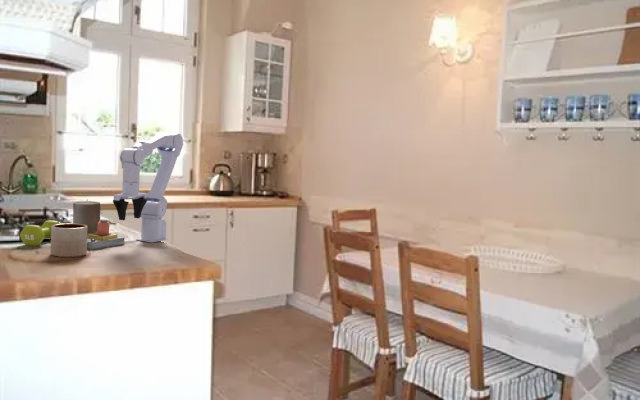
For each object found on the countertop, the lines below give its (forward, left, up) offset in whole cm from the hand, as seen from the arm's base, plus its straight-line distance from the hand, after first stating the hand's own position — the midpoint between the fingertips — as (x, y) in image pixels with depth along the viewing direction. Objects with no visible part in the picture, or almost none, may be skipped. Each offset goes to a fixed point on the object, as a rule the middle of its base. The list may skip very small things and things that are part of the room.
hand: (129, 219), depth 200 cm
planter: (+24, -3, -10) cm, 26 cm away
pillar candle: (-1, -22, -10) cm, 24 cm away
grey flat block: (+7, -9, -10) cm, 15 cm away
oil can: (+4, -9, -7) cm, 12 cm away
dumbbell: (+16, -25, -10) cm, 32 cm away
